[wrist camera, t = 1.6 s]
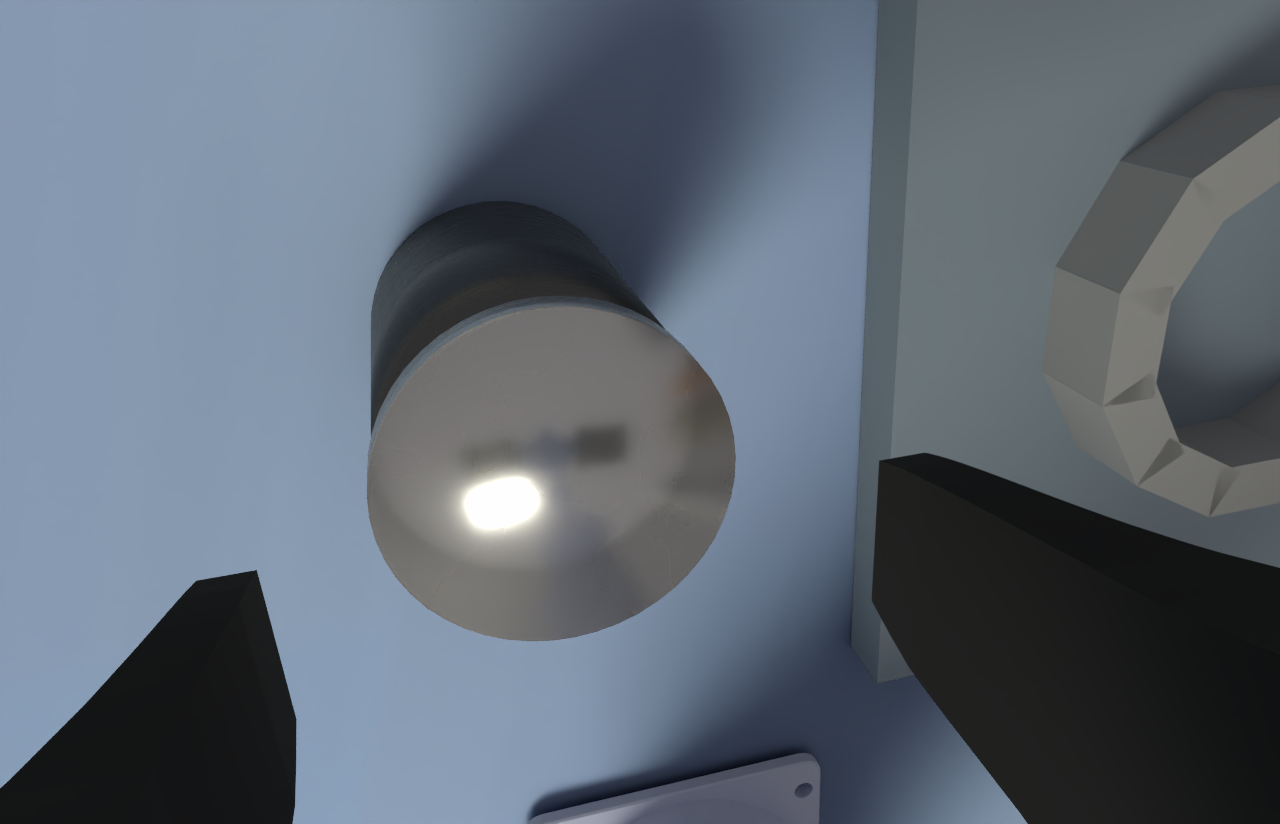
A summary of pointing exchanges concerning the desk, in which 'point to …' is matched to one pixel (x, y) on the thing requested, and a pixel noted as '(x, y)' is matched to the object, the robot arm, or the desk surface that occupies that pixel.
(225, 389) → the desk surface
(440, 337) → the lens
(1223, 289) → the mount plate
